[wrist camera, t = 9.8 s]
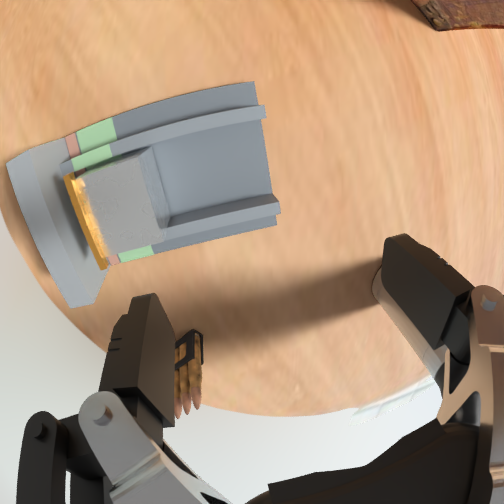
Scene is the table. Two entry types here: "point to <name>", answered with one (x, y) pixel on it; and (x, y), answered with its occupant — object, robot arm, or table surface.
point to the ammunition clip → (188, 372)
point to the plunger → (120, 204)
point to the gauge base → (171, 174)
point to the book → (462, 14)
